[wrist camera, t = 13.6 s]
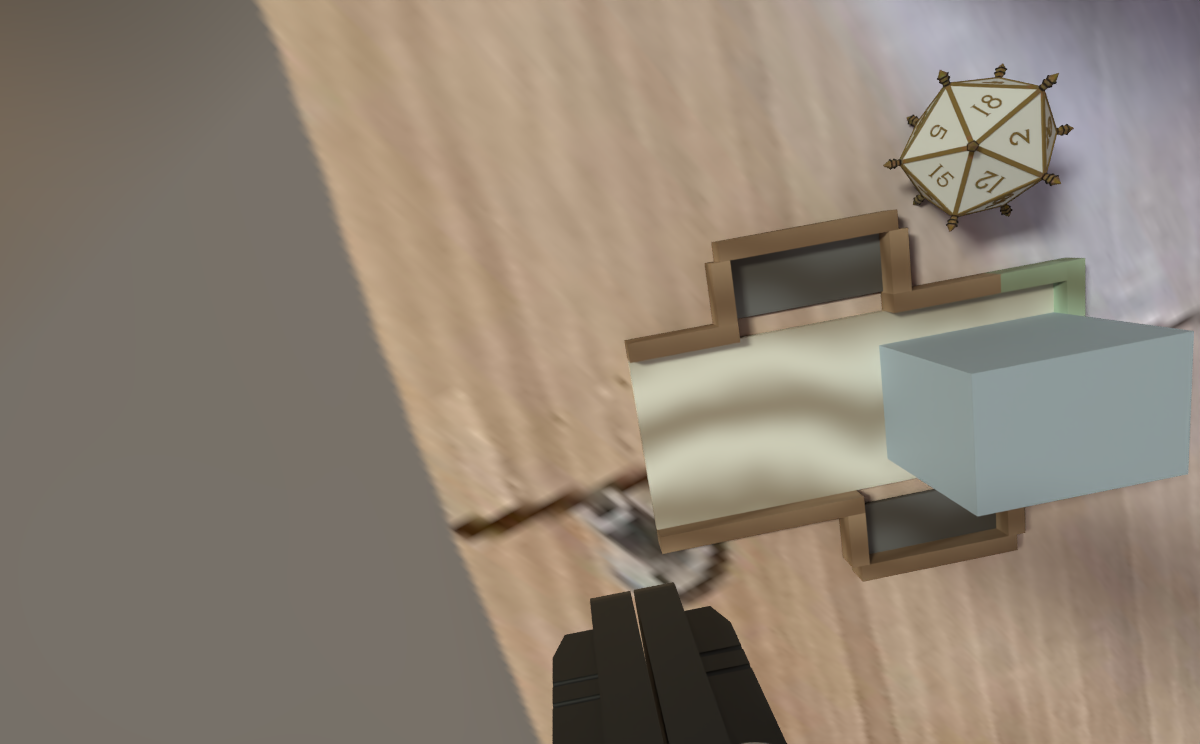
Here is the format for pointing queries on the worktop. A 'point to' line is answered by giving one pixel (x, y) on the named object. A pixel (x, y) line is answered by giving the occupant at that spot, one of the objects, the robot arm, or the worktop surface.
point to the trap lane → (816, 395)
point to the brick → (1039, 408)
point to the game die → (981, 144)
